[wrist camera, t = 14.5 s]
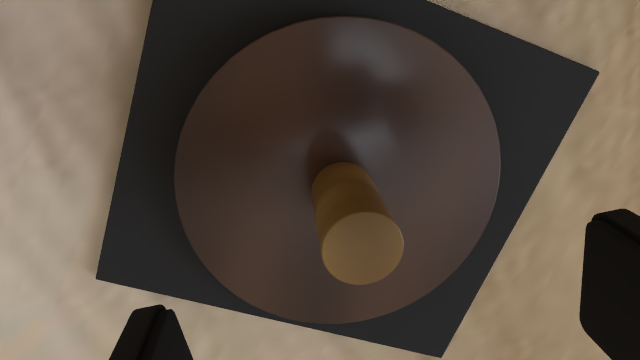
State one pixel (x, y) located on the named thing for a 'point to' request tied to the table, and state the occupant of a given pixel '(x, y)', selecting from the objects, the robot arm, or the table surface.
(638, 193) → the table surface
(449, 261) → the tin lid
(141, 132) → the mat
